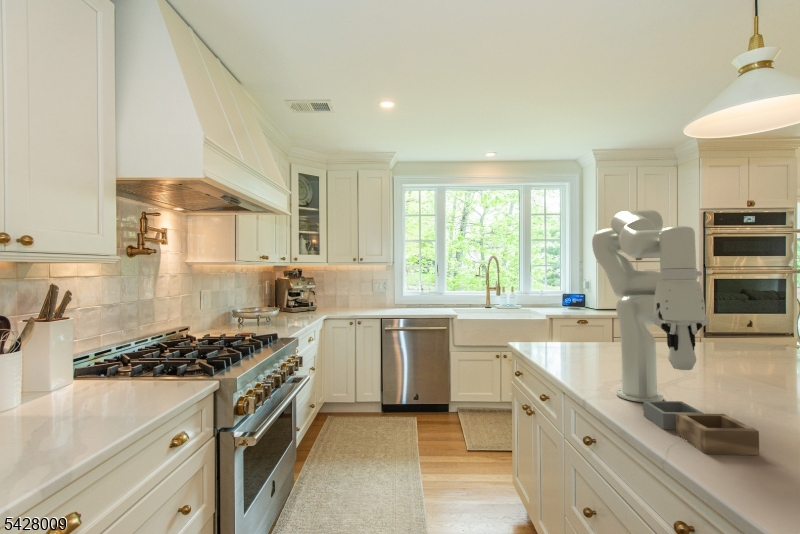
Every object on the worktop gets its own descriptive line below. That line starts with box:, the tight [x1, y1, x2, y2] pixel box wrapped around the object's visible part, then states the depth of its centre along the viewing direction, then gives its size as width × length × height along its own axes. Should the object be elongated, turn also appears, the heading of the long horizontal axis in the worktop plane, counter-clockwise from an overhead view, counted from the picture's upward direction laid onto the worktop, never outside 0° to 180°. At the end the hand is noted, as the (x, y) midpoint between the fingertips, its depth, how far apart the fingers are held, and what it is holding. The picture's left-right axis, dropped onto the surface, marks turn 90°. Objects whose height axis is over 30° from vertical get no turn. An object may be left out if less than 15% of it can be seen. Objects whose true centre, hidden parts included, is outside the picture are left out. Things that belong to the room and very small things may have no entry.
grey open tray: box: [642, 400, 705, 430], centre depth 106 cm, size 10×10×4 cm
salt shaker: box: [667, 319, 697, 371], centre depth 103 cm, size 6×6×13 cm
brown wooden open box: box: [675, 413, 761, 456], centre depth 93 cm, size 11×11×5 cm
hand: (681, 349), depth 103 cm, fingers closed on salt shaker, 3 cm apart
